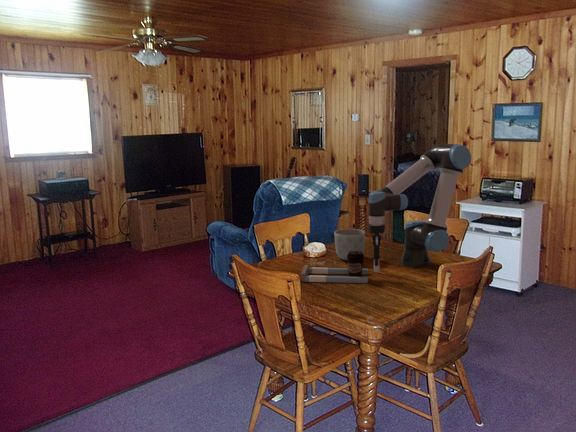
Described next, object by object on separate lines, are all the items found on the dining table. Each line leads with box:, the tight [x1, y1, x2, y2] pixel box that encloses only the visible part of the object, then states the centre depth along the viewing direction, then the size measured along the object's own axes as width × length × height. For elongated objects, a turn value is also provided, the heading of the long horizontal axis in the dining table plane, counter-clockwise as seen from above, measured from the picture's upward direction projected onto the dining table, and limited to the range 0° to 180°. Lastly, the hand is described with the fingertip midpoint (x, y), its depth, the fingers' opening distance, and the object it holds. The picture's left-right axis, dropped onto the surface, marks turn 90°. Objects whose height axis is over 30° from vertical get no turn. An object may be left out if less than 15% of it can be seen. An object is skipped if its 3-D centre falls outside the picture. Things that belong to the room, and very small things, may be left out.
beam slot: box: [300, 264, 369, 284], centre depth 259 cm, size 32×15×4 cm, turn 81°
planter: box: [333, 228, 366, 261], centre depth 291 cm, size 17×17×15 cm
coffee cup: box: [346, 251, 365, 277], centre depth 257 cm, size 9×8×13 cm
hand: (376, 271), depth 256 cm, fingers closed
